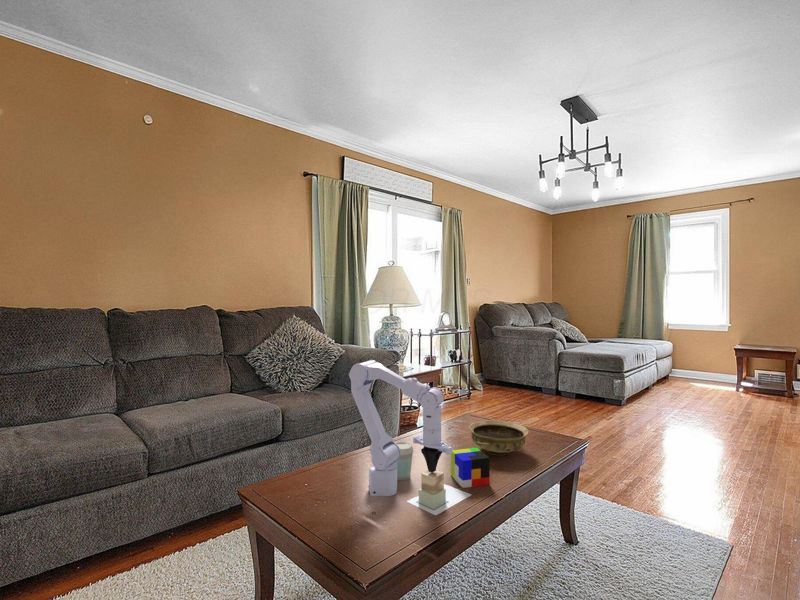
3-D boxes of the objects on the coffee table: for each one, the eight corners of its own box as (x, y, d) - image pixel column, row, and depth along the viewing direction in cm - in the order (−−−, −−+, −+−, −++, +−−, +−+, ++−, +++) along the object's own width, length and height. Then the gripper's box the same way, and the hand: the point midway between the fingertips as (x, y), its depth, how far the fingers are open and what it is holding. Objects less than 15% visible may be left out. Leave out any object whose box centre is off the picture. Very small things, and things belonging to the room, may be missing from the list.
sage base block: (433, 508, 129) (433, 495, 129) (418, 502, 134) (418, 489, 134) (445, 501, 134) (445, 489, 134) (431, 495, 138) (431, 483, 138)
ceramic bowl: (508, 471, 158) (508, 444, 158) (453, 455, 174) (453, 431, 174) (540, 448, 181) (540, 425, 181) (490, 436, 197) (490, 415, 197)
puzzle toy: (462, 490, 143) (462, 460, 143) (451, 478, 153) (451, 450, 153) (489, 486, 146) (489, 457, 146) (476, 474, 156) (476, 447, 156)
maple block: (433, 494, 130) (433, 478, 130) (421, 489, 134) (421, 473, 134) (443, 488, 134) (443, 473, 134) (431, 484, 137) (431, 468, 137)
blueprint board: (435, 518, 126) (435, 515, 126) (406, 503, 134) (406, 501, 134) (471, 497, 138) (471, 494, 138) (442, 485, 147) (442, 482, 147)
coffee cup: (416, 475, 155) (416, 442, 155) (410, 485, 147) (410, 450, 147) (393, 472, 158) (393, 440, 157) (386, 482, 149) (386, 448, 149)
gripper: (458, 430, 131) (458, 474, 132) (423, 420, 142) (423, 461, 142) (443, 435, 126) (443, 481, 127) (408, 425, 137) (408, 467, 137)
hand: (432, 471), depth 134 cm, fingers closed
